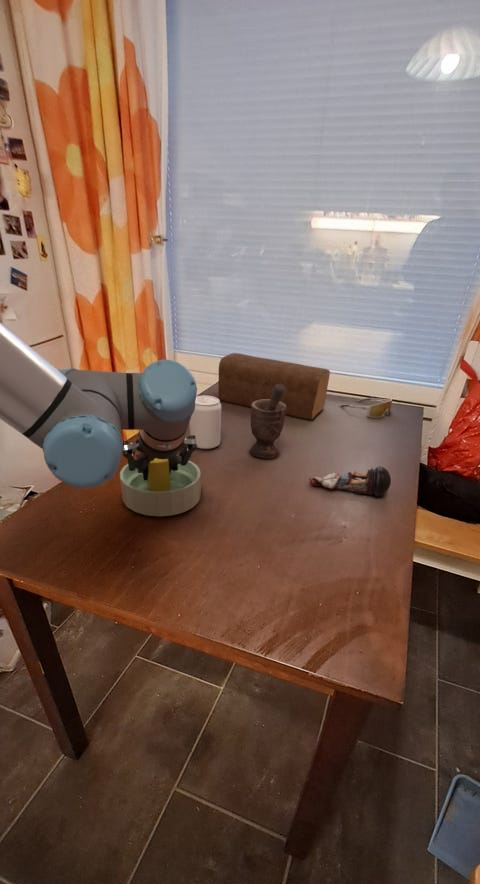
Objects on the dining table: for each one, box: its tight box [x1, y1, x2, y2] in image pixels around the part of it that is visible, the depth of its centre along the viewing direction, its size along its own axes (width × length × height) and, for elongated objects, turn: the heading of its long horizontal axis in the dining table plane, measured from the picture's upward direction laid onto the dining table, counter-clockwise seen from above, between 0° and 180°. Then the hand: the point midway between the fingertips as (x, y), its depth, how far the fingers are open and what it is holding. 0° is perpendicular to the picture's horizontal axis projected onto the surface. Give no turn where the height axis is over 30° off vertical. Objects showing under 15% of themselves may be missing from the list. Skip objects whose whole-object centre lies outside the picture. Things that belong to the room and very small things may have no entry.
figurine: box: [308, 465, 392, 497], centre depth 96 cm, size 8×7×18 cm
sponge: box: [147, 458, 171, 491], centre depth 87 cm, size 4×6×9 cm, turn 17°
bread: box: [217, 352, 331, 421], centre depth 138 cm, size 14×34×14 cm, turn 65°
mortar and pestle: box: [249, 384, 286, 460], centre depth 103 cm, size 12×9×20 cm
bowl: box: [119, 460, 202, 517], centre depth 88 cm, size 16×16×6 cm
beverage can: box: [189, 395, 222, 450], centre depth 110 cm, size 8×8×12 cm
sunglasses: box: [340, 397, 393, 419], centre depth 142 cm, size 14×15×5 cm
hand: (155, 473), depth 90 cm, fingers closed on sponge, 4 cm apart
